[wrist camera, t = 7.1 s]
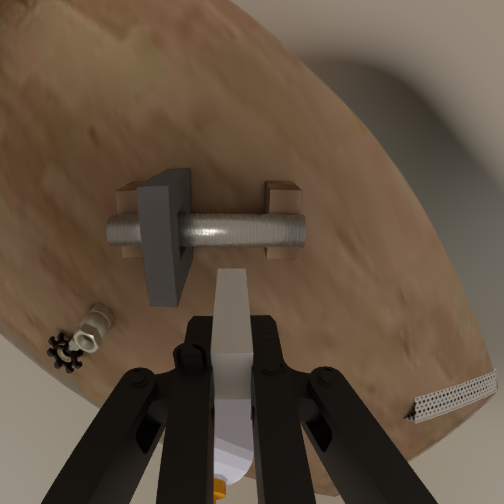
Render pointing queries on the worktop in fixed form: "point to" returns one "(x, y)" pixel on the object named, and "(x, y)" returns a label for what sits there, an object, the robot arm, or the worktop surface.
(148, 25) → the worktop surface
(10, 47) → the worktop surface
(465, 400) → the corner bead
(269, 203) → the saddles
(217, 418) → the soap bottle
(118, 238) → the pipe
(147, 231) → the collar
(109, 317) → the valve
